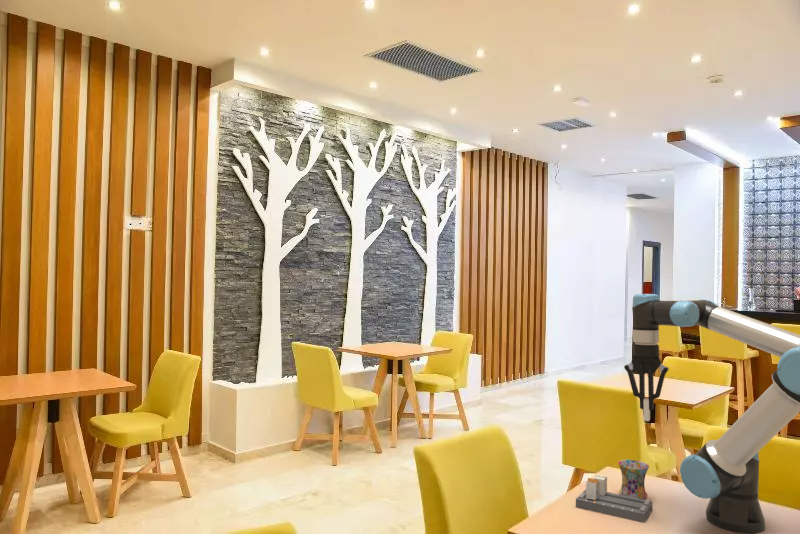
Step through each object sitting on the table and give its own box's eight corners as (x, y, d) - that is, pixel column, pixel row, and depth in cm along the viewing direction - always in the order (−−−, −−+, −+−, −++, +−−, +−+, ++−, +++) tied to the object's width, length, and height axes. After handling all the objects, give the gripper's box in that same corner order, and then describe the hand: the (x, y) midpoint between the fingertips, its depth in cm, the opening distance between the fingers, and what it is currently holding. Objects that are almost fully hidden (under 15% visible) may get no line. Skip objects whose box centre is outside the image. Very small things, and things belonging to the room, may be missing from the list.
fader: (599, 496, 190) (599, 478, 190) (596, 500, 187) (596, 482, 187) (589, 494, 192) (589, 476, 192) (585, 498, 188) (586, 479, 188)
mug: (652, 502, 193) (653, 469, 193) (622, 501, 194) (623, 468, 194) (640, 489, 205) (640, 457, 205) (612, 488, 206) (612, 456, 206)
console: (652, 509, 188) (652, 482, 188) (644, 522, 178) (644, 494, 178) (586, 495, 198) (587, 470, 199) (575, 507, 188) (576, 480, 188)
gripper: (670, 343, 190) (671, 420, 189) (625, 341, 196) (626, 415, 195) (667, 345, 183) (668, 424, 182) (621, 343, 190) (622, 420, 189)
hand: (646, 420), depth 189 cm, fingers closed
